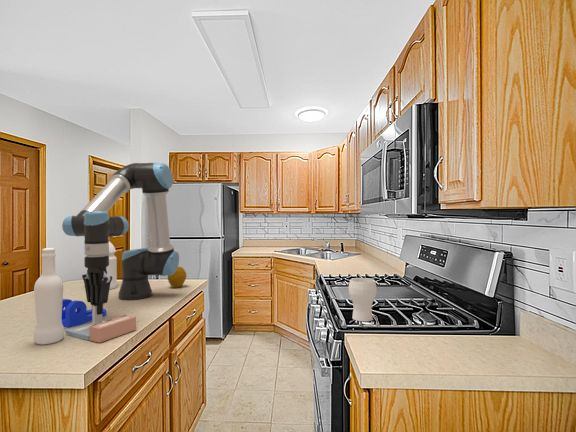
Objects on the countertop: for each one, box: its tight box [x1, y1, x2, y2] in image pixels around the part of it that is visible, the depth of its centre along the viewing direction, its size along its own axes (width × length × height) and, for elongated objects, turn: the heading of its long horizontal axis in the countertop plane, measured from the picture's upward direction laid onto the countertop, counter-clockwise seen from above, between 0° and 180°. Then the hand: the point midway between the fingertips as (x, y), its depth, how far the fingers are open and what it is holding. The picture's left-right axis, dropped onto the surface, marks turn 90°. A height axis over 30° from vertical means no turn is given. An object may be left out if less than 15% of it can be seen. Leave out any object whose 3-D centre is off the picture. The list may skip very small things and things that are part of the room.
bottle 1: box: [33, 247, 65, 346], centre depth 116 cm, size 8×8×30 cm
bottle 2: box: [106, 240, 118, 291], centre depth 195 cm, size 14×14×28 cm
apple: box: [167, 266, 187, 289], centre depth 198 cm, size 10×10×12 cm
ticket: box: [65, 318, 109, 341], centre depth 126 cm, size 14×12×2 cm
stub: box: [89, 314, 137, 343], centre depth 122 cm, size 14×5×5 cm, turn 153°
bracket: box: [62, 298, 107, 329], centre depth 139 cm, size 18×8×9 cm, turn 158°
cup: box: [348, 277, 378, 322], centre depth 140 cm, size 11×11×15 cm
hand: (97, 323), depth 125 cm, fingers closed
